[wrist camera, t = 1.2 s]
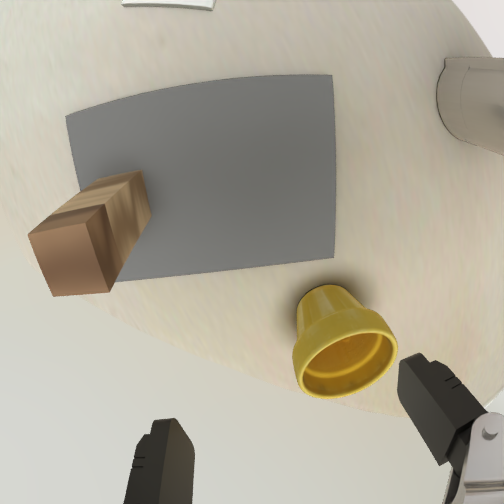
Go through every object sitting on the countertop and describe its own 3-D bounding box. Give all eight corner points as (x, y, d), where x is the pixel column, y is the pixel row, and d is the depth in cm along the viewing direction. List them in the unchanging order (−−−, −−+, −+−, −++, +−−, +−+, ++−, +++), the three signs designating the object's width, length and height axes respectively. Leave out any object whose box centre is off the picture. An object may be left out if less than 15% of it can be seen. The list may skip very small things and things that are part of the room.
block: (98, 178, 24) (27, 234, 14) (141, 169, 25) (85, 222, 14) (109, 222, 27) (53, 296, 16) (151, 215, 27) (109, 292, 16)
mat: (68, 115, 22) (65, 116, 21) (329, 75, 22) (332, 75, 22) (111, 279, 30) (109, 282, 30) (332, 254, 31) (333, 257, 30)
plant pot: (373, 315, 36) (403, 371, 27) (301, 349, 37) (317, 410, 29) (351, 254, 31) (390, 311, 23) (266, 295, 33) (279, 363, 24)
